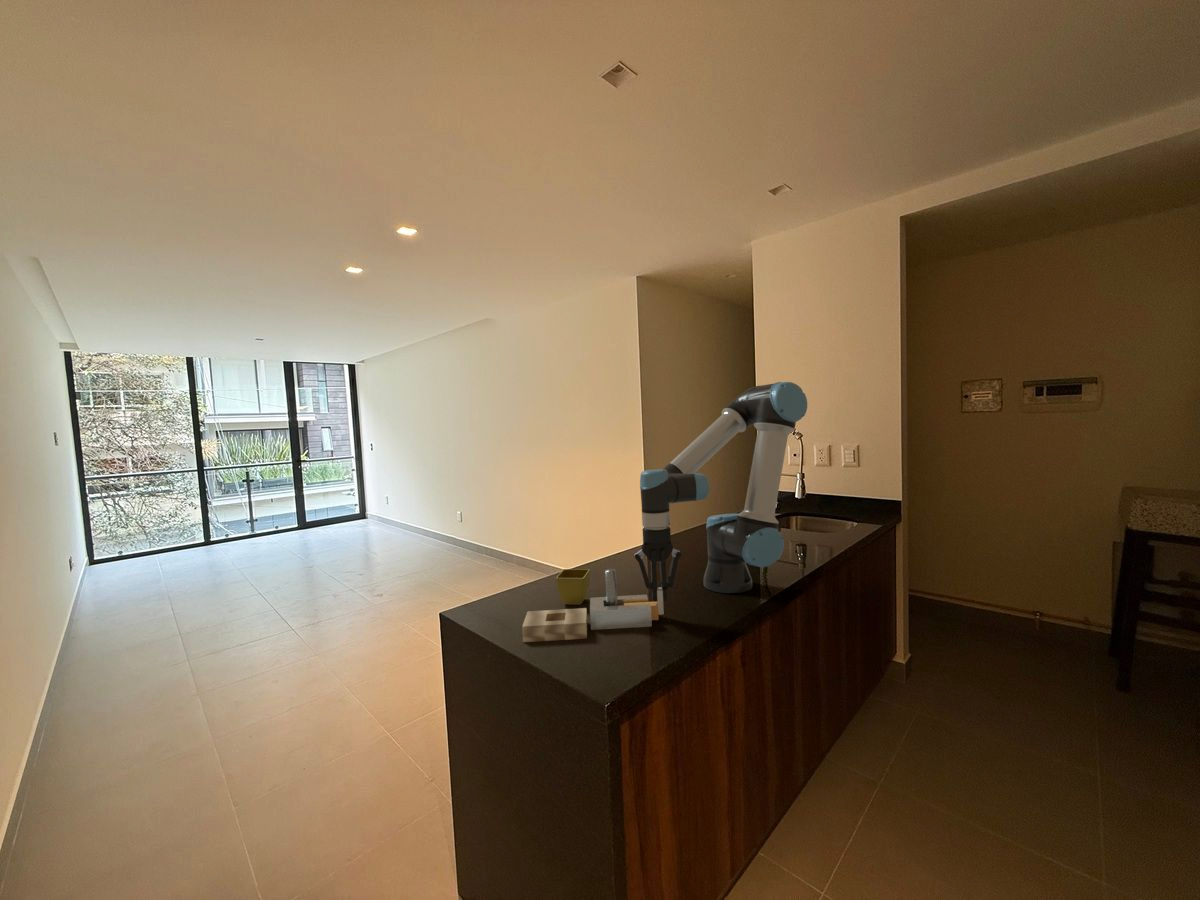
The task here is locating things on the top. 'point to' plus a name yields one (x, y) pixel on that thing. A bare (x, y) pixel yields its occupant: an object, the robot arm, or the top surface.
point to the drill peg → (611, 587)
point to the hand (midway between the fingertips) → (660, 612)
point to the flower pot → (573, 585)
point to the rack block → (555, 625)
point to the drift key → (653, 608)
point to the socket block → (620, 613)
